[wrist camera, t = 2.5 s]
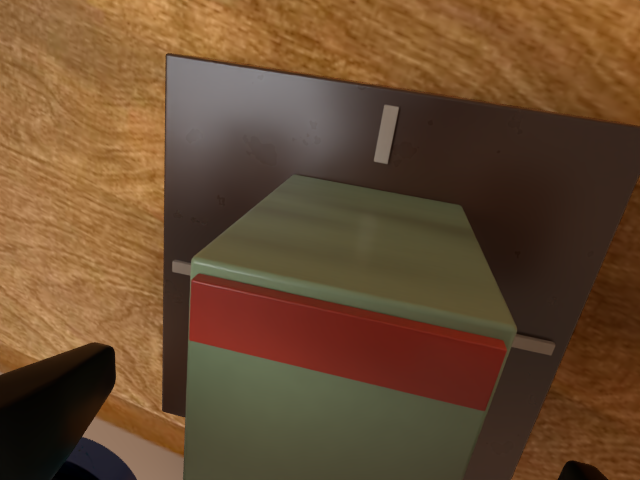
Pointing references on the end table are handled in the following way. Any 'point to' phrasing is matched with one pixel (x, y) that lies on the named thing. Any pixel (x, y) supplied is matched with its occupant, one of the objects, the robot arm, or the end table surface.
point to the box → (341, 339)
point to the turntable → (407, 179)
